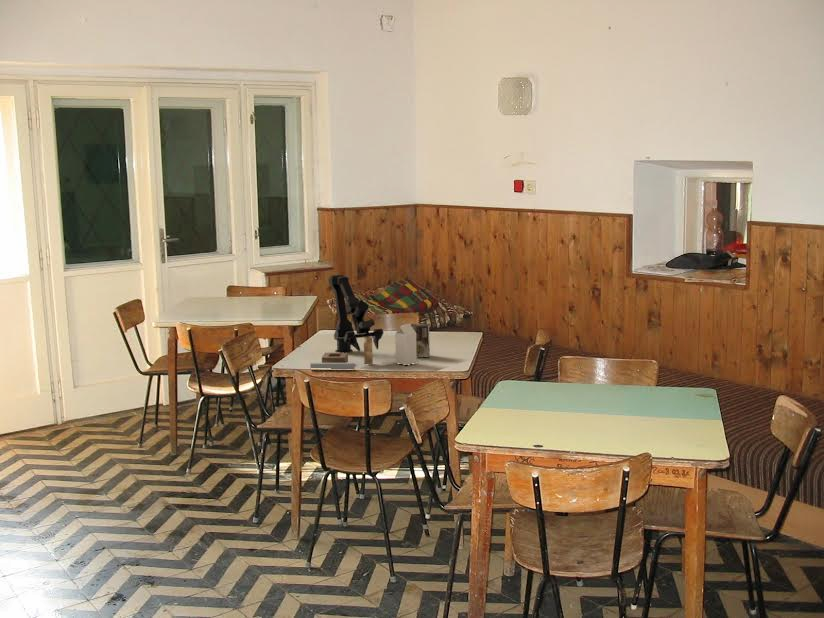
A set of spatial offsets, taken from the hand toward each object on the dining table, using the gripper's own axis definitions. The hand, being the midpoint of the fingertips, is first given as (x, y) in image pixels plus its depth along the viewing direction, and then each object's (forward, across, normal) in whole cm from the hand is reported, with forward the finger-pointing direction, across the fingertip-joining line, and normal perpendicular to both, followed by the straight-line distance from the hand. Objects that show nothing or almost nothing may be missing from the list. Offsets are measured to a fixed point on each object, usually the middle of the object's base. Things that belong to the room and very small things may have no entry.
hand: (368, 349), depth 454 cm
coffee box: (+2, +29, +8) cm, 30 cm away
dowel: (+4, 0, +6) cm, 7 cm away
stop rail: (+7, -20, +3) cm, 21 cm away
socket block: (0, -15, +10) cm, 18 cm away
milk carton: (+10, +16, +1) cm, 19 cm away
